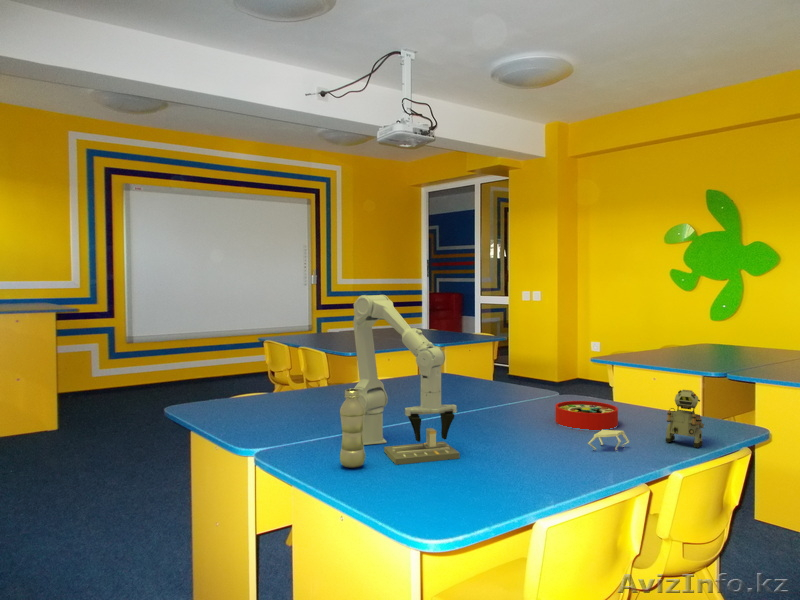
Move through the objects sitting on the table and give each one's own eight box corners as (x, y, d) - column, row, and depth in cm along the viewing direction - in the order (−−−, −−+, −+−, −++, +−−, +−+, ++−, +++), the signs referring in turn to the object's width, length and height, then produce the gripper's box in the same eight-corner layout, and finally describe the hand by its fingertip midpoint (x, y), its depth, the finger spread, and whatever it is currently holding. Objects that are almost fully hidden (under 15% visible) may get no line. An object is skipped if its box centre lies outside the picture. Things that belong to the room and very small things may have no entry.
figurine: (708, 441, 170) (709, 391, 169) (696, 449, 161) (696, 396, 161) (676, 436, 176) (676, 387, 176) (662, 443, 168) (663, 392, 167)
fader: (426, 451, 157) (426, 431, 157) (422, 447, 160) (422, 428, 160) (440, 450, 158) (440, 430, 158) (436, 446, 161) (436, 427, 161)
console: (395, 464, 150) (395, 456, 150) (384, 452, 162) (383, 444, 162) (459, 458, 155) (459, 450, 155) (444, 446, 167) (443, 439, 167)
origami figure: (605, 442, 170) (605, 426, 170) (630, 448, 163) (630, 431, 163) (580, 449, 163) (579, 432, 163) (605, 456, 156) (606, 438, 156)
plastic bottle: (352, 461, 154) (351, 386, 153) (370, 466, 149) (370, 389, 149) (334, 467, 149) (333, 390, 148) (353, 472, 144) (352, 393, 144)
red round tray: (543, 403, 198) (589, 398, 206) (543, 420, 198) (589, 415, 206) (582, 416, 180) (631, 410, 187) (582, 434, 180) (631, 427, 188)
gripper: (410, 395, 153) (410, 445, 153) (460, 392, 157) (460, 441, 157) (402, 390, 160) (402, 438, 160) (451, 387, 164) (451, 434, 164)
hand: (431, 439), depth 159 cm, fingers open, 7 cm apart
